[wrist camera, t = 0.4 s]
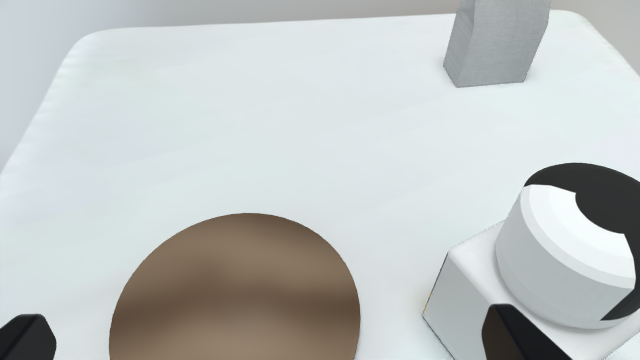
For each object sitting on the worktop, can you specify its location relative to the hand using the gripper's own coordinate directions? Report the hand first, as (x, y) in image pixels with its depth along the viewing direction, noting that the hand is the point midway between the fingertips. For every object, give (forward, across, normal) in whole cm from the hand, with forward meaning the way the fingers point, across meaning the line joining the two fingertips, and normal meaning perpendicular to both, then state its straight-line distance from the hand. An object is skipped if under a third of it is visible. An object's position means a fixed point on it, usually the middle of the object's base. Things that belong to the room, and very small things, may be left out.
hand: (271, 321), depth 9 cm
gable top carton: (+35, -18, +9) cm, 41 cm away
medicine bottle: (+10, -12, +15) cm, 21 cm away
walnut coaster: (+11, +3, +14) cm, 18 cm away
